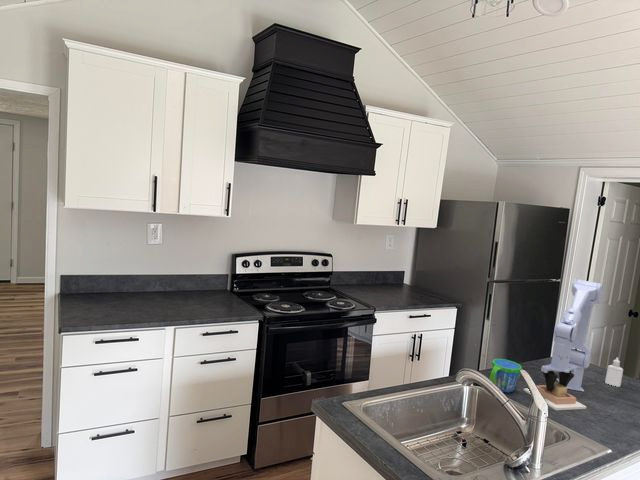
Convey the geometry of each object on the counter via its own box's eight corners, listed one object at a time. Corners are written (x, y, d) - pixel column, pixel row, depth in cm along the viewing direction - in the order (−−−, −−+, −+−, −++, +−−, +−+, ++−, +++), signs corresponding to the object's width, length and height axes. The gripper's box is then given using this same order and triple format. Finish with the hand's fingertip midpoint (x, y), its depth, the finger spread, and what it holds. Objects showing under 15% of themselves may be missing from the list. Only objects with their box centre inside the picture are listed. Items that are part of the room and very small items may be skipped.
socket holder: (523, 390, 177) (524, 383, 177) (552, 389, 182) (553, 382, 181) (555, 410, 162) (557, 402, 162) (586, 408, 167) (587, 400, 166)
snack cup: (498, 397, 169) (503, 370, 168) (477, 384, 178) (481, 359, 177) (528, 393, 175) (532, 367, 174) (506, 381, 185) (510, 357, 184)
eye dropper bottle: (616, 388, 191) (621, 360, 190) (602, 382, 196) (607, 355, 195) (622, 387, 193) (627, 359, 192) (609, 381, 198) (613, 355, 197)
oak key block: (544, 394, 174) (546, 381, 173) (552, 393, 175) (554, 381, 175) (556, 401, 168) (558, 388, 168) (565, 400, 170) (567, 388, 169)
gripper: (554, 359, 164) (548, 395, 166) (585, 359, 169) (579, 394, 170) (539, 352, 171) (533, 387, 172) (569, 352, 175) (564, 386, 177)
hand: (555, 390), depth 172 cm, fingers open, 5 cm apart
